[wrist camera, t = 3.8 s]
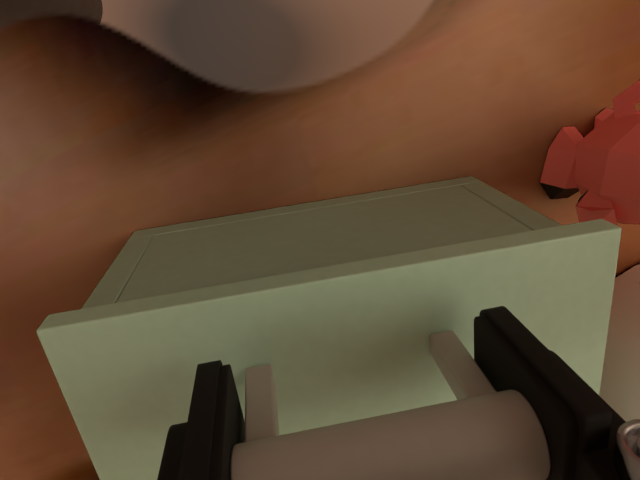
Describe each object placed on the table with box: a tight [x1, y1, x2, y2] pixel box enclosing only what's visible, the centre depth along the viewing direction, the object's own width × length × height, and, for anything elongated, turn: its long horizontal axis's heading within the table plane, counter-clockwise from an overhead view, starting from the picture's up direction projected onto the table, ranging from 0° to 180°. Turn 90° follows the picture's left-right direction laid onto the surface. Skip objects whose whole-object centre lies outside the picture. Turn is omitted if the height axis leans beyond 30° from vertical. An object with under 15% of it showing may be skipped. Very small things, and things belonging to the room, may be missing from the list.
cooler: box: [81, 176, 562, 309], centre depth 20 cm, size 17×15×8 cm
